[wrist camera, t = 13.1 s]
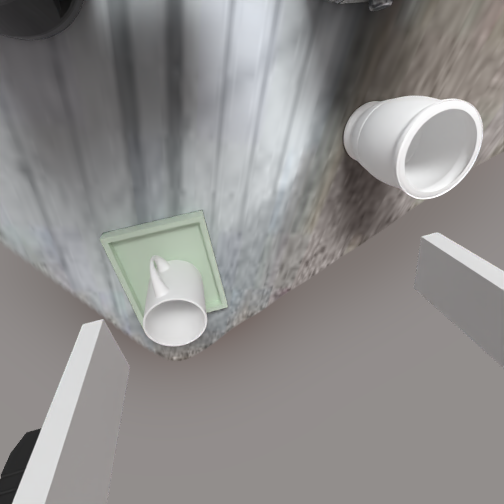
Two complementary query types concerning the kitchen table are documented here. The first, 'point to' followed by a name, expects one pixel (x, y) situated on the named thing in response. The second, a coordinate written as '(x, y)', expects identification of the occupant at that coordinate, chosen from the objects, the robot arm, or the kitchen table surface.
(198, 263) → the tray
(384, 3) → the toaster
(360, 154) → the jar
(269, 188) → the kitchen table surface
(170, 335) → the mug
